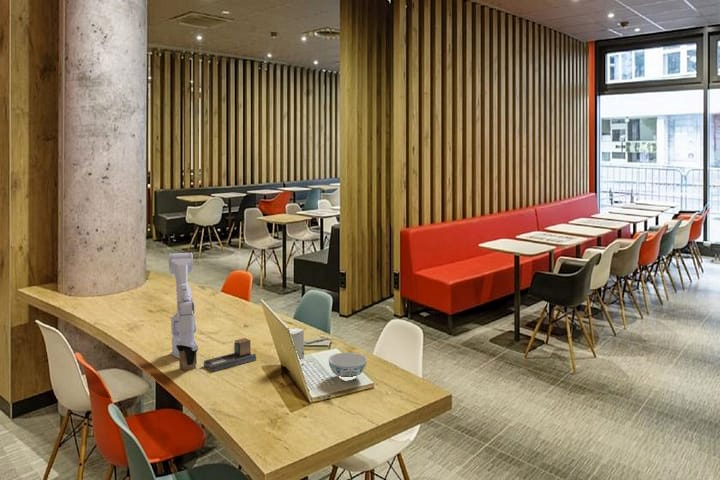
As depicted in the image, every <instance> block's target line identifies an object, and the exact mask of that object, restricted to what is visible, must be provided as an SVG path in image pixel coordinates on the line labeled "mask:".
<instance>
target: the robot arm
mask: <svg viewBox="0 0 720 480" xmlns="http://www.w3.org/2000/svg"><path fill="white" fill-rule="evenodd" d="M167 259H168V260H167V262H168V263H167V264H168V271H169V273H170V274H172V275H174V278H175V287H176V288H175V289H176V312H175V314H174V315H172V317H171V318H170V319H171V320H170V322H171V323H170V324H171V325H170V327H171V328H170V329H171V330H170V331H171V335H172V338H171V349H172V350H171V351H172V352H170V353H169V354H170V355H172V356H173V357H175V358H177V359H179V352H180V351H184V353H185V355H186V361H187V365H192V364H193V362H194V357H195V354H196V356H198V353H197V352H198V350H199V345H198V344H197V342H196V340H195V334H196V332H197V324H196V323H197V322H196V316H195V311H196V310H195V302H194V298H193V292H192V287H191V286H190V285H189V283H188V281H189V277H188V274H189V273H191V272H193V267H194V257H193V253H192V252H180V253H178V252H177V253H171V252H170V253H169V254H168V257H167Z"/></svg>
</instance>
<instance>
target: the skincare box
mask: <svg viewBox="0 0 720 480" xmlns="http://www.w3.org/2000/svg"><path fill="white" fill-rule="evenodd" d="M288 330H290V333H291V336H292V339H293V342H294V345H295V348H296V351H297V354H298V356H299V359H300V360H301V359H303V358H304V359H305V337H304V336H305V335H304V334H305V330H304V329H302V328H296V327H293V328H289V329H288Z"/></svg>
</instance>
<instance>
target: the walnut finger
mask: <svg viewBox="0 0 720 480" xmlns="http://www.w3.org/2000/svg"><path fill="white" fill-rule="evenodd" d="M196 354H197V353H196ZM196 354H195V357H194V362H193V364H192V365H187V361H186V355H185V353H184V351H180V352H179V358H178V359H179V360H178V362H179V369H180V370H182V371H183V372H187V371H190V370H194V369H196V368H197V355H196Z"/></svg>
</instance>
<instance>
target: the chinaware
mask: <svg viewBox="0 0 720 480" xmlns="http://www.w3.org/2000/svg"><path fill="white" fill-rule="evenodd" d="M327 360H328V361H327V362H328V364H329V368H330V370H331V371H332V373H333V374H334V375H335V376H336V377H338V376H341V377H353V376H357V375H359V376H360V375H361V374H362V373H363V372H364V370H365V369H366V366H367V364H368V358H367V357H366V356H365V355H362V354H360V353H356V352H339V353H335V354H332V355H330V356H329V357H328V359H327ZM357 377H358V376H357Z"/></svg>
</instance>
